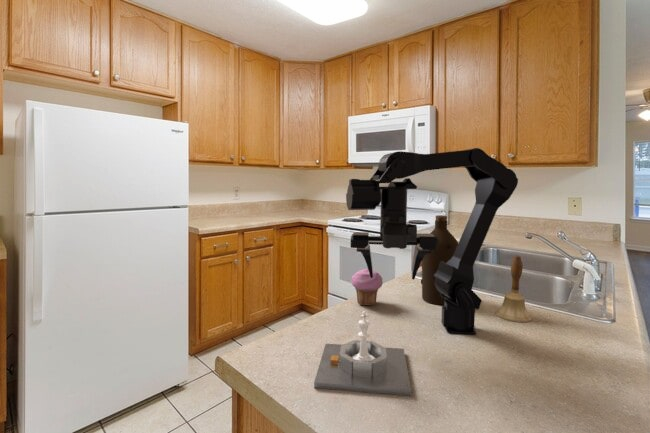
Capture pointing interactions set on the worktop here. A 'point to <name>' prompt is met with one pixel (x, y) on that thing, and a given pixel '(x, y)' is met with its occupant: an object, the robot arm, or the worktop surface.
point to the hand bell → (514, 297)
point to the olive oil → (437, 260)
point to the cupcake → (366, 286)
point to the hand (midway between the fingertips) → (392, 278)
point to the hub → (363, 369)
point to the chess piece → (363, 339)
